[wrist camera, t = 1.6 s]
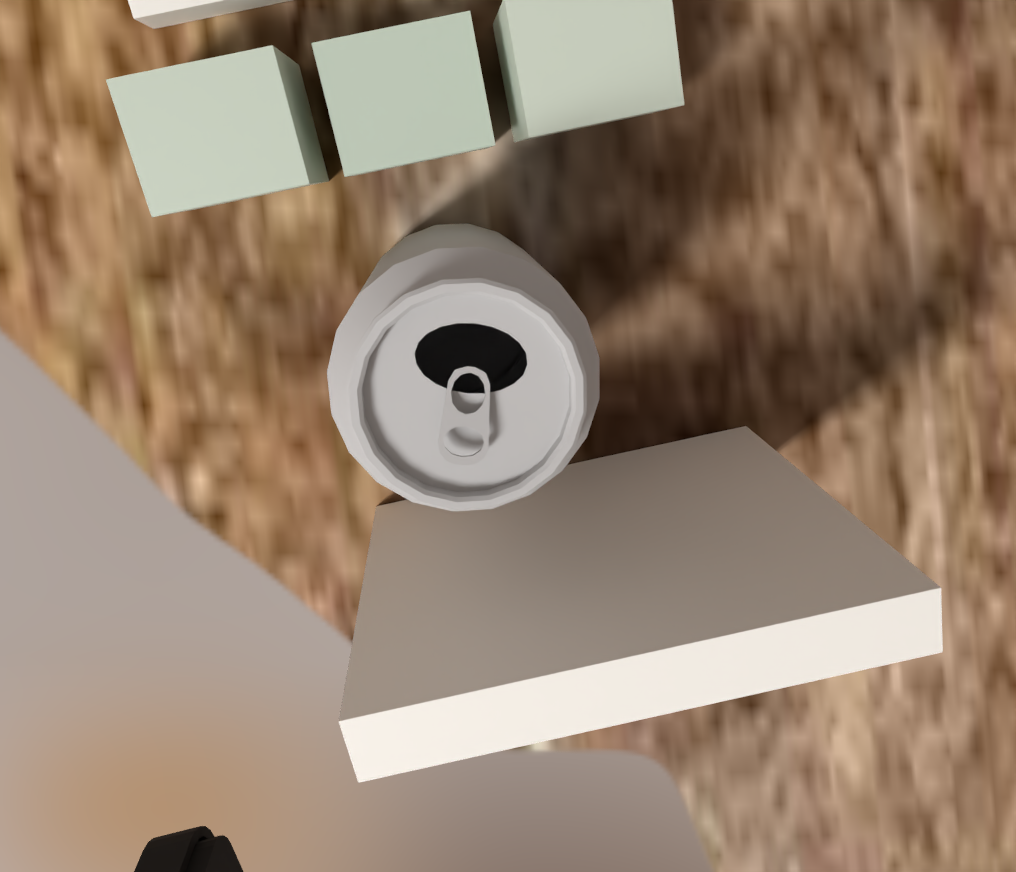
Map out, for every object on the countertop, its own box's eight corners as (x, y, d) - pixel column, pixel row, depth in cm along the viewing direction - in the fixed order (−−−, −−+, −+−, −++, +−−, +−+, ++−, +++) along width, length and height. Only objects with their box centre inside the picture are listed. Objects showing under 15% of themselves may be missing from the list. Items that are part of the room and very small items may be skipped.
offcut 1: (160, 93, 29) (106, 79, 24) (299, 65, 29) (272, 45, 24) (196, 209, 30) (151, 217, 25) (329, 181, 30) (309, 183, 25)
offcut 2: (492, 24, 29) (503, -3, 24) (629, -4, 29) (667, -38, 24) (514, 142, 30) (529, 137, 25) (645, 114, 30) (684, 104, 25)
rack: (144, -4, 28) (-126, -162, 14) (688, -115, 28) (917, -370, 15) (318, 563, 35) (247, 807, 21) (750, 469, 35) (942, 652, 22)
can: (563, 233, 31) (636, 270, 20) (537, 418, 34) (590, 547, 22) (367, 209, 30) (326, 235, 19) (354, 401, 33) (310, 526, 21)
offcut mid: (327, 59, 29) (311, 43, 25) (465, 30, 29) (470, 10, 25) (355, 175, 30) (344, 176, 26) (487, 148, 30) (495, 145, 26)
